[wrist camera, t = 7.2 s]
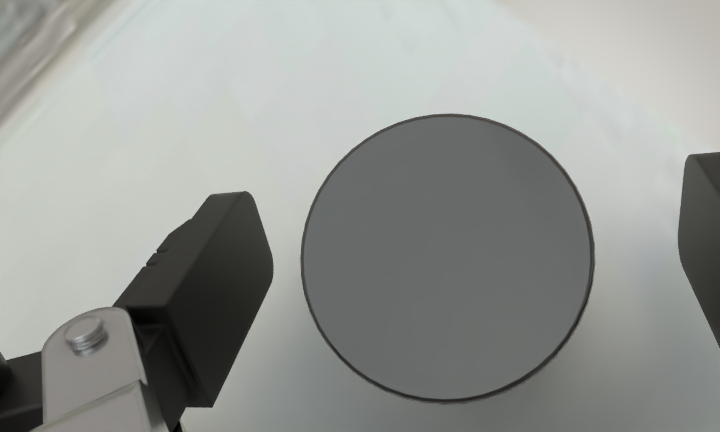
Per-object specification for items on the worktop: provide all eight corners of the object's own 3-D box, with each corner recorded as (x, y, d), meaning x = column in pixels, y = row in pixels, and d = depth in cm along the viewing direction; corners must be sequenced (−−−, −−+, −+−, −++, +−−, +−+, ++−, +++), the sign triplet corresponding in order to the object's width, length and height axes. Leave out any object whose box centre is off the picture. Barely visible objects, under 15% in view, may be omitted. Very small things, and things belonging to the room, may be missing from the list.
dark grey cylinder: (583, 274, 16) (651, 181, 8) (514, 408, 16) (506, 469, 7) (450, 211, 17) (381, 72, 9) (385, 334, 17) (249, 311, 9)
